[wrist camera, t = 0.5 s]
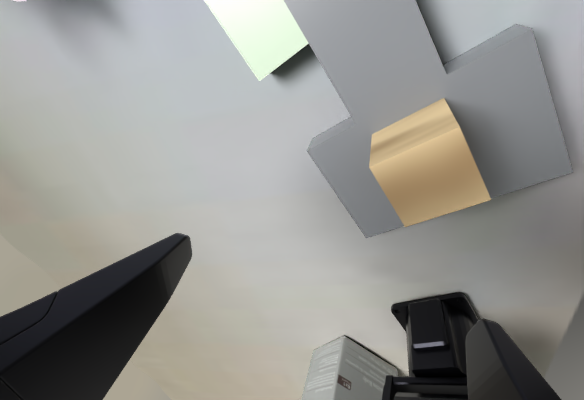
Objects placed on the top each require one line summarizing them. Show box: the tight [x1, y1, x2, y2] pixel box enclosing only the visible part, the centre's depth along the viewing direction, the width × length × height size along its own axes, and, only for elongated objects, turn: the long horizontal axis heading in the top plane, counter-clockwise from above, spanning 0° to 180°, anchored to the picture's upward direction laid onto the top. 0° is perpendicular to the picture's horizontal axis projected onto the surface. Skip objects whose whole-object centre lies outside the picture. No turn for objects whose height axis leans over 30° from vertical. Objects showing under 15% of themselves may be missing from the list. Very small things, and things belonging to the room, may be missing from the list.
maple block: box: [369, 98, 491, 227], centre depth 15 cm, size 4×4×4 cm
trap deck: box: [204, 0, 573, 238], centre depth 16 cm, size 18×12×2 cm, turn 36°
